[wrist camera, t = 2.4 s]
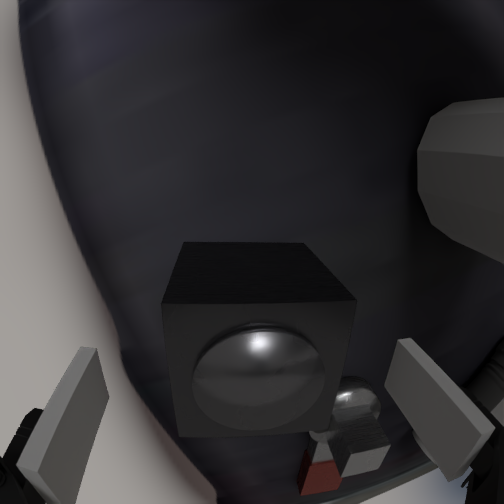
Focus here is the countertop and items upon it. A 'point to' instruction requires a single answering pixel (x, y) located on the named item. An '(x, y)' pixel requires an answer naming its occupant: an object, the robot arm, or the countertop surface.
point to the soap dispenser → (499, 412)
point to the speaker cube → (254, 339)
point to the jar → (465, 174)
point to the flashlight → (484, 386)
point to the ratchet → (345, 440)
